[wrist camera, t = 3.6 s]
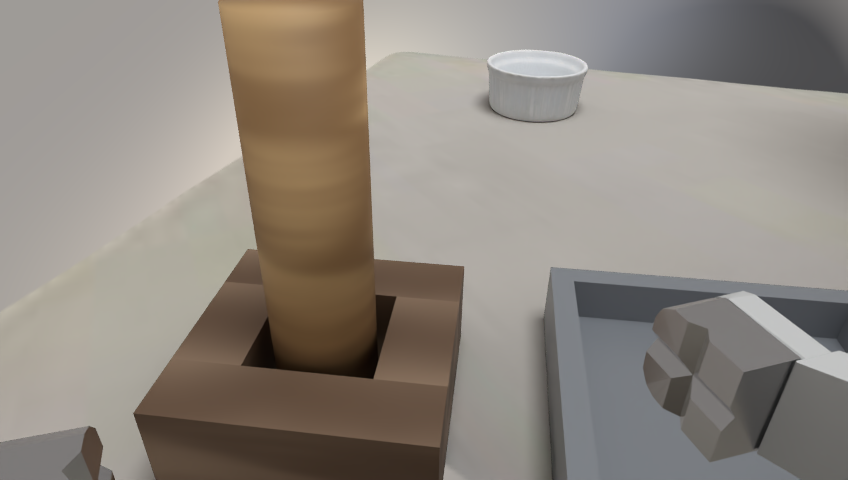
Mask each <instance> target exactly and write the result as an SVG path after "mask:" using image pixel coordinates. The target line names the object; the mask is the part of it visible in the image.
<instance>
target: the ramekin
mask: <svg viewBox="0 0 848 480" xmlns="http://www.w3.org/2000/svg"><path fill="white" fill-rule="evenodd" d="M487 67H488V70H489V102H490V106H491V107H492V109H493V110H494V111H496V112H497V113H499V114H500V115H503V116H505V117H508V118H512V119H516V120H521V121H529V122H550V121H558V120H562V119H565V118H567V117H569V116H571V115H572V114H573V113H574V112H575V110H576V108H577V105H578V101H579V96H580V92H581V88H582V83H583V79H584V77H585V75H586V73H587V70H588V66H587V64H586V63H585V62H584V61H583V60H581V59H579V58H577V57H574V56H571V55H567V54H564V53H557V52H551V51H540V50H514V51H506V52H501V53H497V54H494V55H492V56H491V57H489V58H488V60H487Z"/></svg>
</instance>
